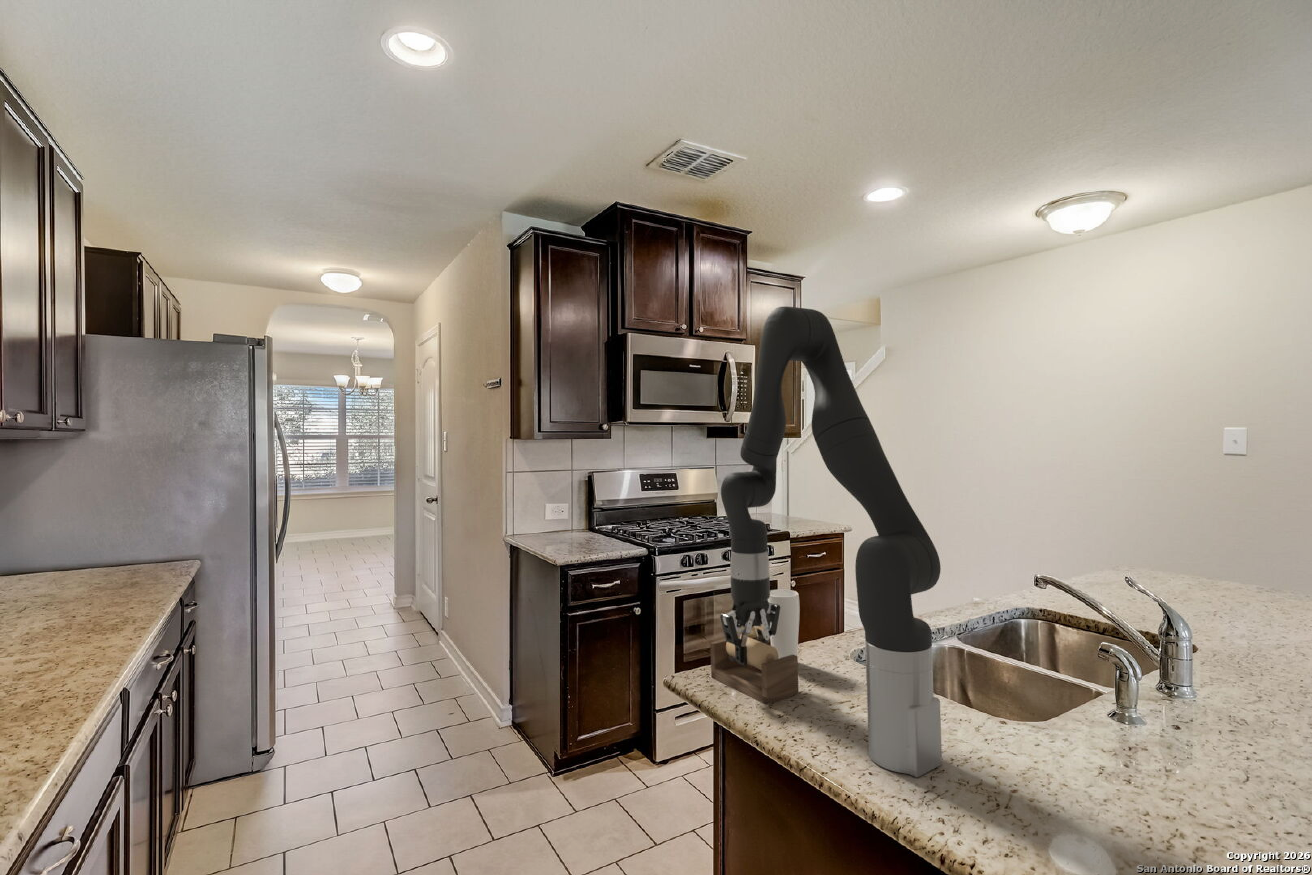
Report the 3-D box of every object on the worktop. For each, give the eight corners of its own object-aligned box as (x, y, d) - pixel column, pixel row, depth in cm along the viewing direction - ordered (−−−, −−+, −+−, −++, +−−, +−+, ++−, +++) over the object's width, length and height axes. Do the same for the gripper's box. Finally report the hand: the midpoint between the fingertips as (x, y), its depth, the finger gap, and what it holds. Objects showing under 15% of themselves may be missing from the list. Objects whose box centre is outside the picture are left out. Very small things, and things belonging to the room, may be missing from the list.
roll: (779, 668, 116) (778, 644, 116) (761, 674, 114) (760, 649, 114) (743, 653, 125) (742, 630, 125) (725, 658, 123) (725, 635, 123)
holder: (798, 693, 115) (797, 656, 115) (767, 704, 110) (766, 665, 110) (741, 668, 128) (740, 634, 128) (711, 677, 124) (710, 642, 124)
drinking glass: (798, 657, 133) (796, 588, 133) (803, 669, 126) (801, 596, 127) (767, 657, 134) (765, 589, 134) (770, 669, 127) (767, 597, 127)
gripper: (734, 582, 112) (736, 675, 112) (790, 571, 120) (792, 658, 120) (709, 575, 119) (711, 663, 119) (763, 565, 127) (765, 648, 127)
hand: (752, 660), depth 119 cm, fingers closed on roll, 4 cm apart
